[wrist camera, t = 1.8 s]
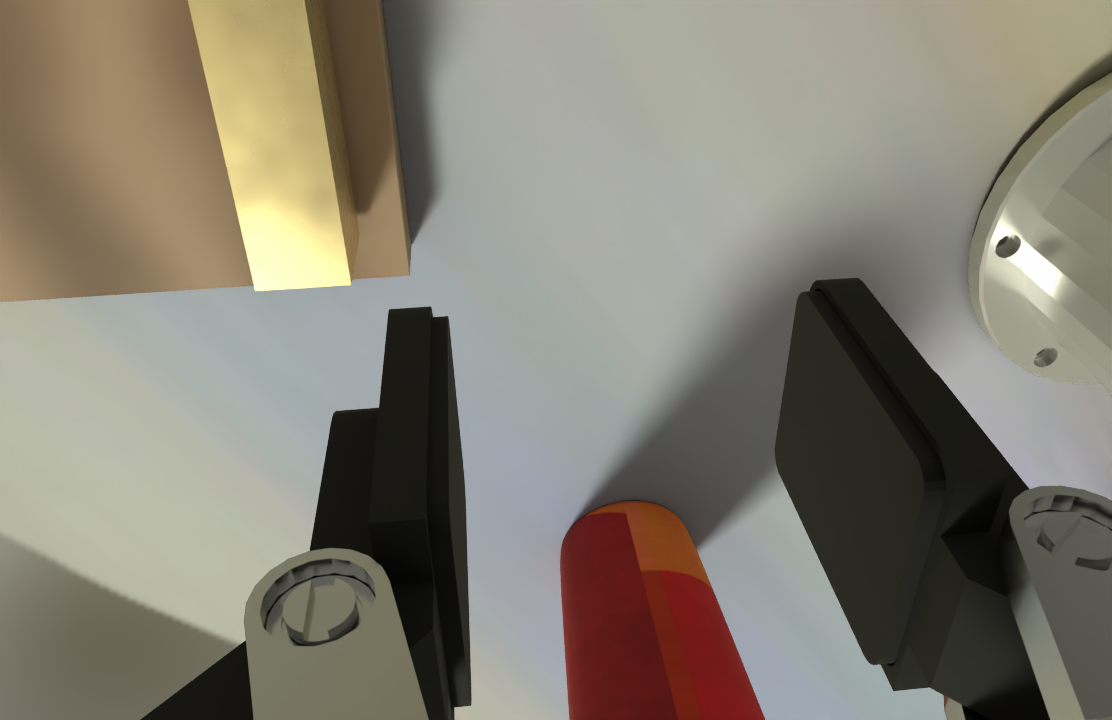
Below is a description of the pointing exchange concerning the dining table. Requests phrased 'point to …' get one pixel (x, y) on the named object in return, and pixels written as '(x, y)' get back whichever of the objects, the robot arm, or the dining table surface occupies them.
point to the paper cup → (645, 623)
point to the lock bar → (281, 137)
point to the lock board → (159, 151)
